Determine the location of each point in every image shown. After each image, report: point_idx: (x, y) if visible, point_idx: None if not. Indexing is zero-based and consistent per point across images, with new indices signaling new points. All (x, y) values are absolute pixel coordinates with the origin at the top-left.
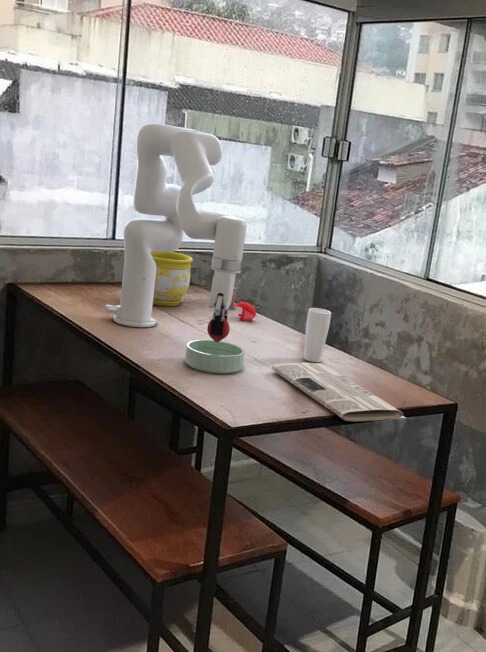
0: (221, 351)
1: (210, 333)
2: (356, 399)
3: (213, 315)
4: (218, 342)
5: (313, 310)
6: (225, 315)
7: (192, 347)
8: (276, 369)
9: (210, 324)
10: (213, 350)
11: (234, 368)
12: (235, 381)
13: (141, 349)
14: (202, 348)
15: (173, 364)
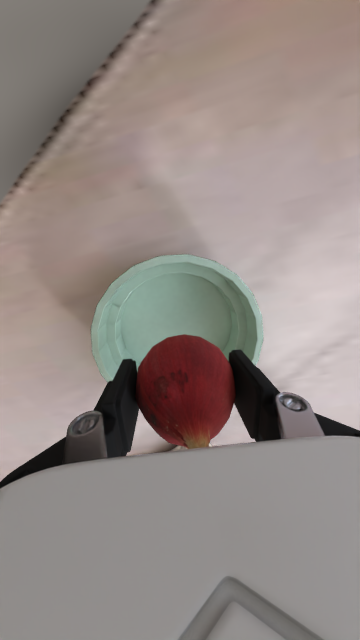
0: (236, 339)
1: (122, 360)
2: None
3: (65, 444)
4: (255, 335)
5: None
6: (261, 436)
7: (204, 267)
8: (183, 448)
9: (150, 367)
10: (236, 319)
11: None
12: (95, 387)
13: (222, 91)
14: (231, 291)
15: (128, 235)
